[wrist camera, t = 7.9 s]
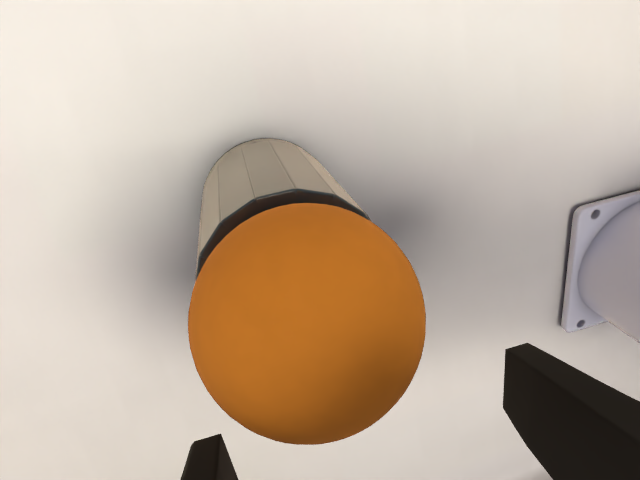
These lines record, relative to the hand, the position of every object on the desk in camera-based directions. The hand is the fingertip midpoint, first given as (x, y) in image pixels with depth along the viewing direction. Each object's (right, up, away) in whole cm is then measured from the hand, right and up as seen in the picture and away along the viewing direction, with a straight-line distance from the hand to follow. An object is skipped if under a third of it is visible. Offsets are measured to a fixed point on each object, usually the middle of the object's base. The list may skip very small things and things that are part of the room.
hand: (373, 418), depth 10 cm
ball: (-2, +4, +2) cm, 5 cm away
